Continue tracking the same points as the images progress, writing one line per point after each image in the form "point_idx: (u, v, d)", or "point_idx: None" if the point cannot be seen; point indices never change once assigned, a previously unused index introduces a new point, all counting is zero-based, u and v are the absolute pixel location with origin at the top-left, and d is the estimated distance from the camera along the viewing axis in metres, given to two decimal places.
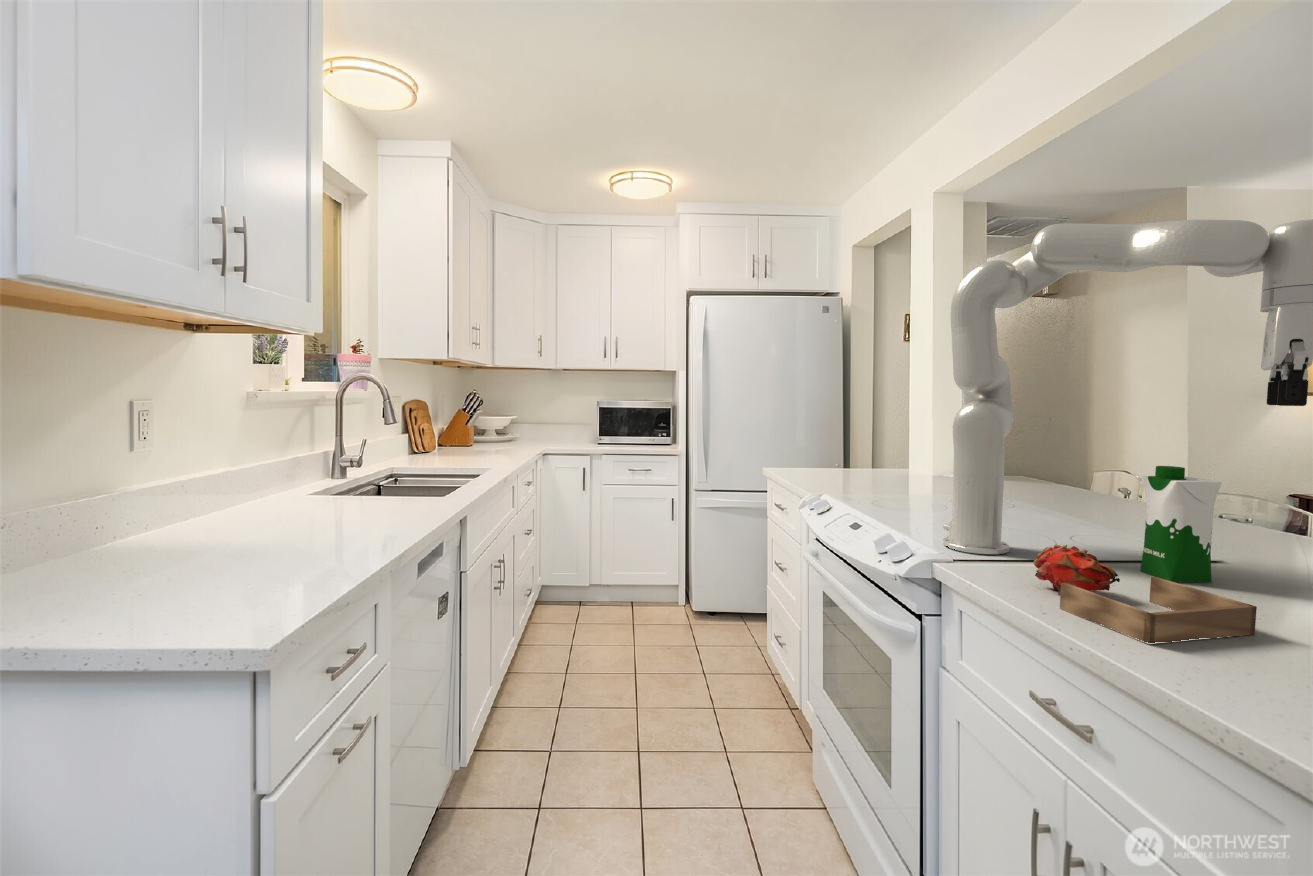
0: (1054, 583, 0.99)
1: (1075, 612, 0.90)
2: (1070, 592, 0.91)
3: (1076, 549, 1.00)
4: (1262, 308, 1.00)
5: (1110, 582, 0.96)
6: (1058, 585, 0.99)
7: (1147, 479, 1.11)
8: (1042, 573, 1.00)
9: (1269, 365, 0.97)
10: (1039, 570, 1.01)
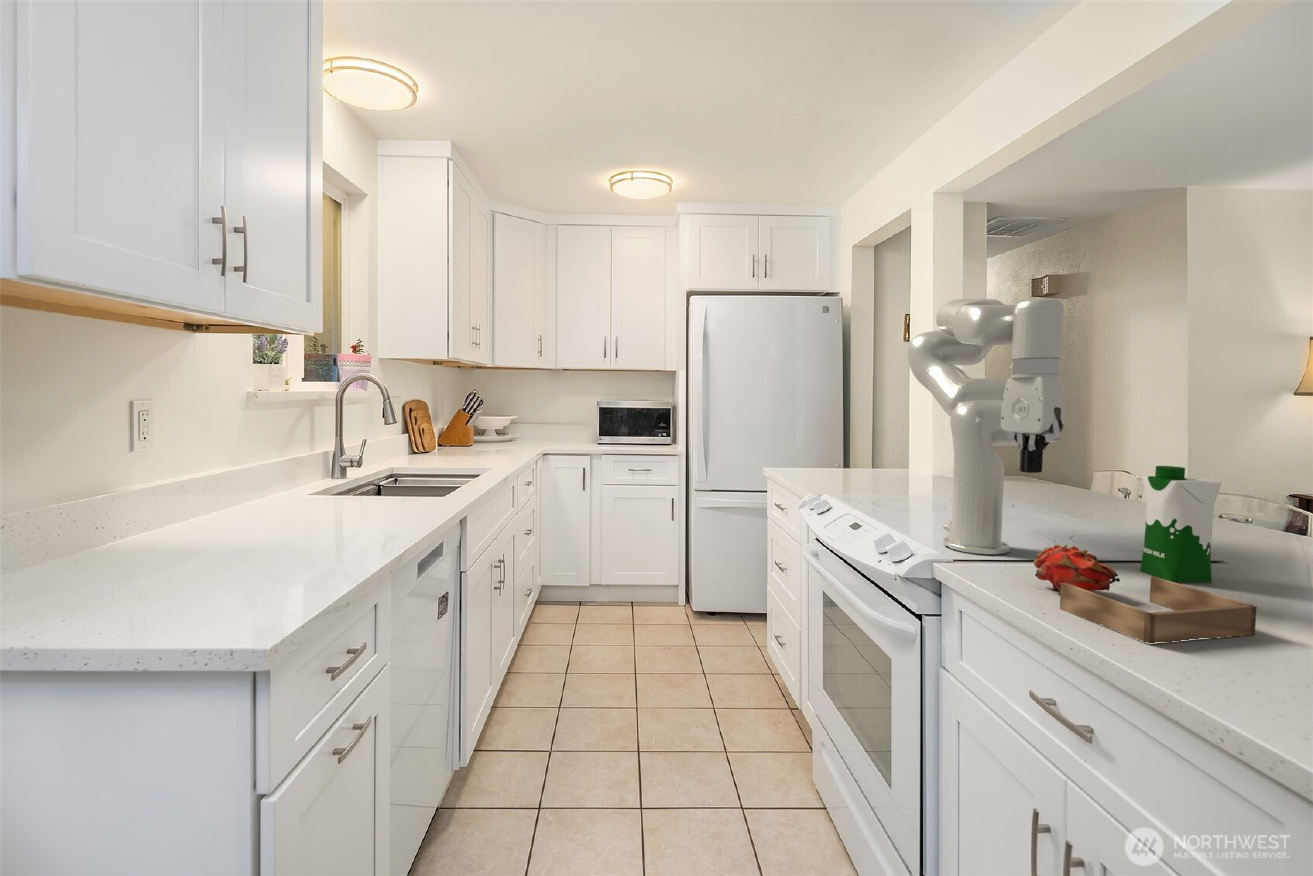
0: (1054, 583, 0.99)
1: (1075, 612, 0.90)
2: (1070, 592, 0.91)
3: (1076, 549, 1.00)
4: (1021, 375, 1.06)
5: (1110, 582, 0.96)
6: (1058, 585, 0.99)
7: (1147, 479, 1.11)
8: (1042, 573, 1.00)
9: (1037, 430, 1.04)
10: (1039, 570, 1.01)
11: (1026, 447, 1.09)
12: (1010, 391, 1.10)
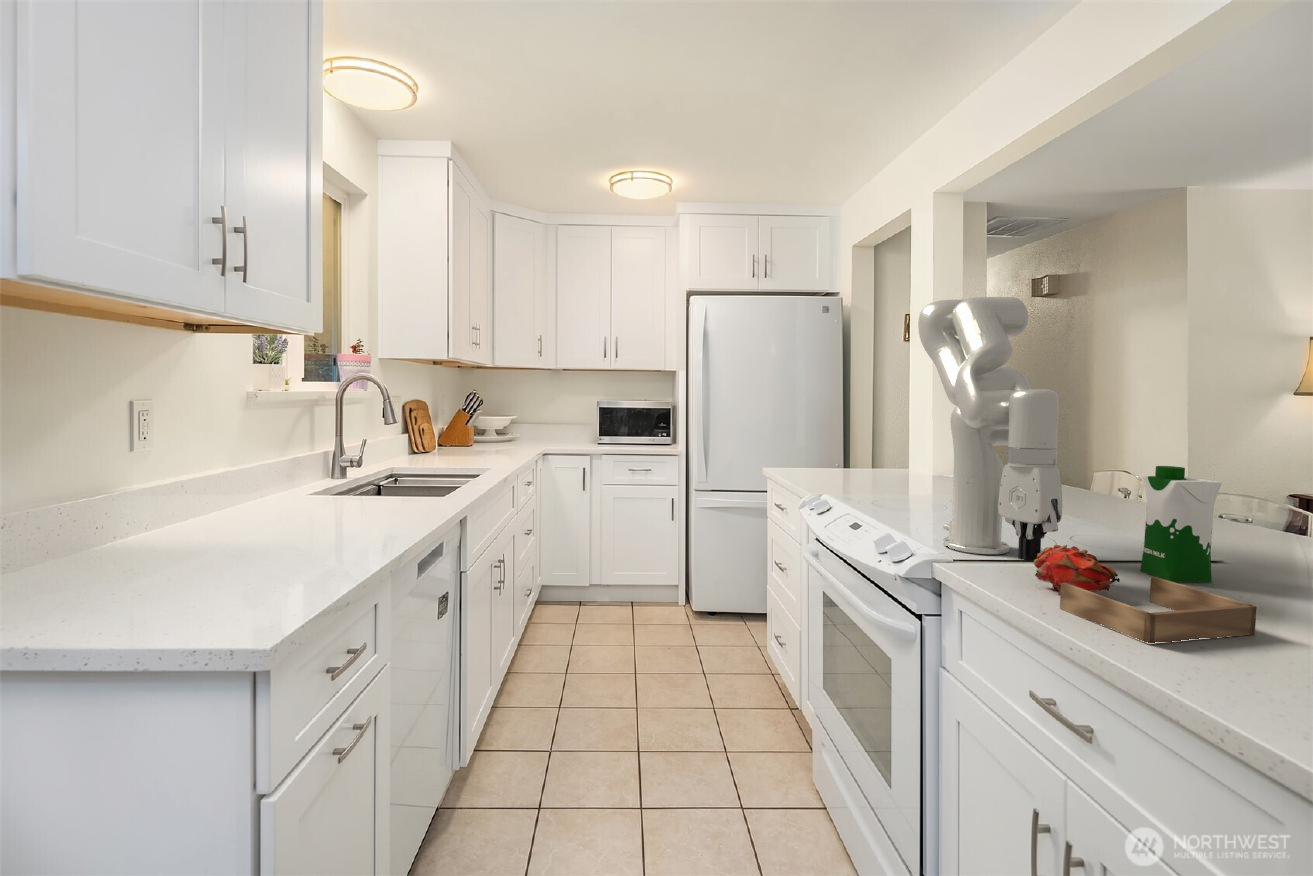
0: (1054, 583, 0.99)
1: (1075, 612, 0.90)
2: (1070, 592, 0.91)
3: (1076, 549, 1.00)
4: (1018, 465, 1.07)
5: (1110, 582, 0.96)
6: (1058, 585, 0.99)
7: (1147, 479, 1.11)
8: (1042, 573, 1.00)
9: (1035, 521, 1.04)
10: (1039, 570, 1.01)
11: (1024, 535, 1.09)
12: (1007, 478, 1.10)
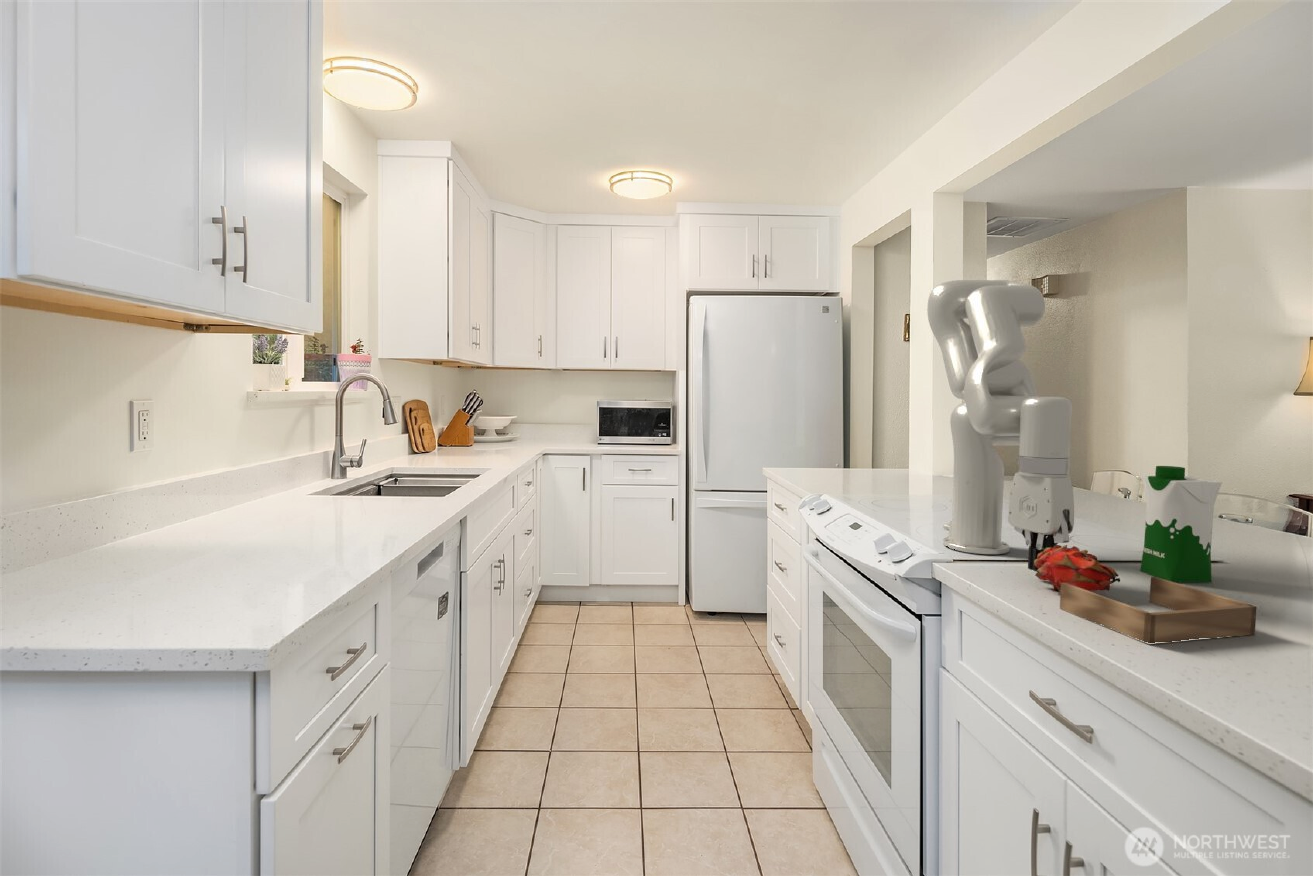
0: (1054, 583, 0.99)
1: (1075, 612, 0.90)
2: (1070, 592, 0.91)
3: (1076, 549, 1.00)
4: (1029, 474, 1.04)
5: (1110, 582, 0.95)
6: (1058, 585, 0.99)
7: (1147, 479, 1.10)
8: (1042, 573, 1.00)
9: (1046, 532, 1.02)
10: (1039, 570, 1.01)
11: (1034, 544, 1.07)
12: (1018, 487, 1.08)
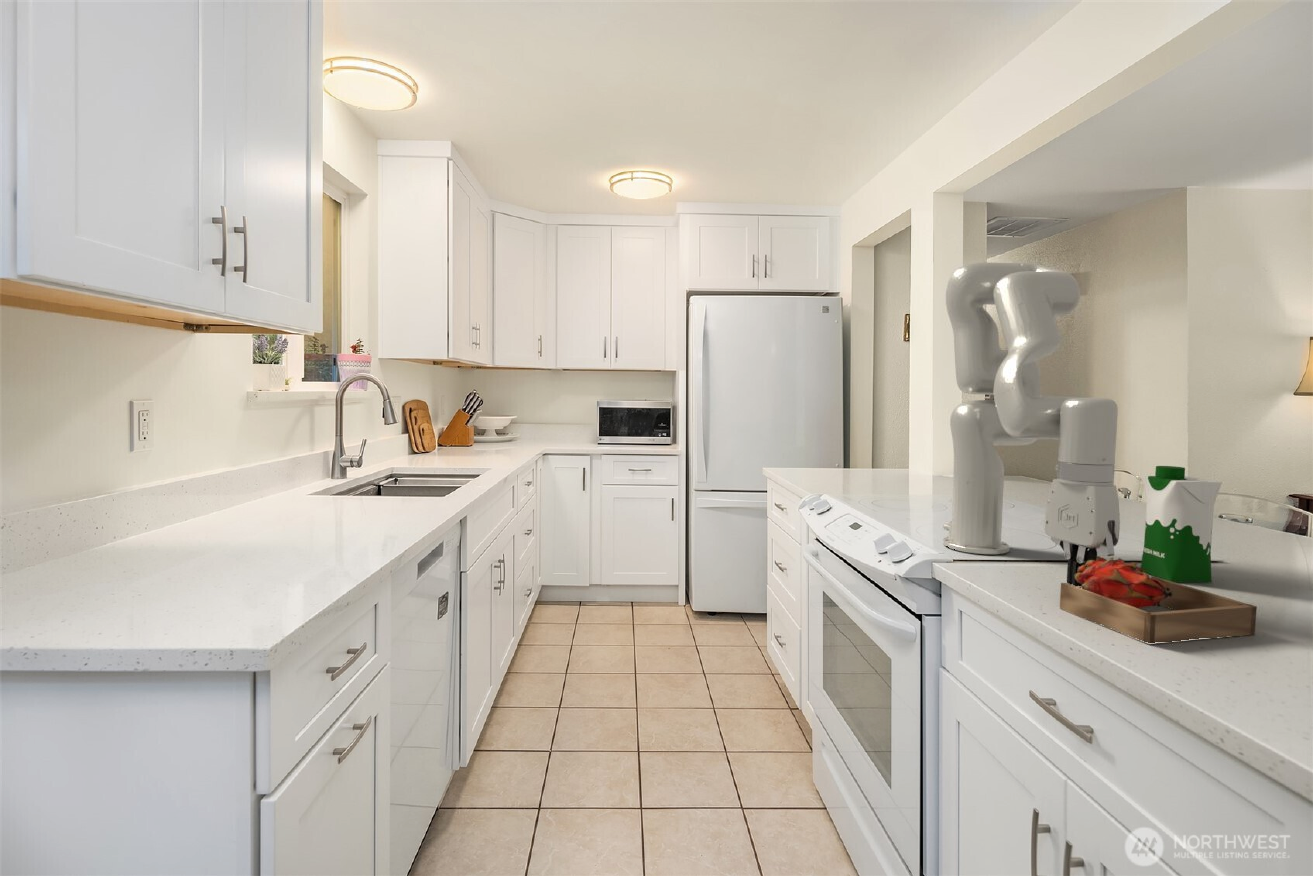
0: None
1: (1075, 612, 0.90)
2: (1070, 592, 0.91)
3: (1122, 561, 0.92)
4: (1070, 481, 0.96)
5: (1163, 597, 0.88)
6: None
7: (1147, 479, 1.11)
8: (1089, 589, 0.92)
9: (1089, 545, 0.94)
10: (1085, 586, 0.93)
11: (1074, 557, 0.99)
12: (1056, 495, 1.00)
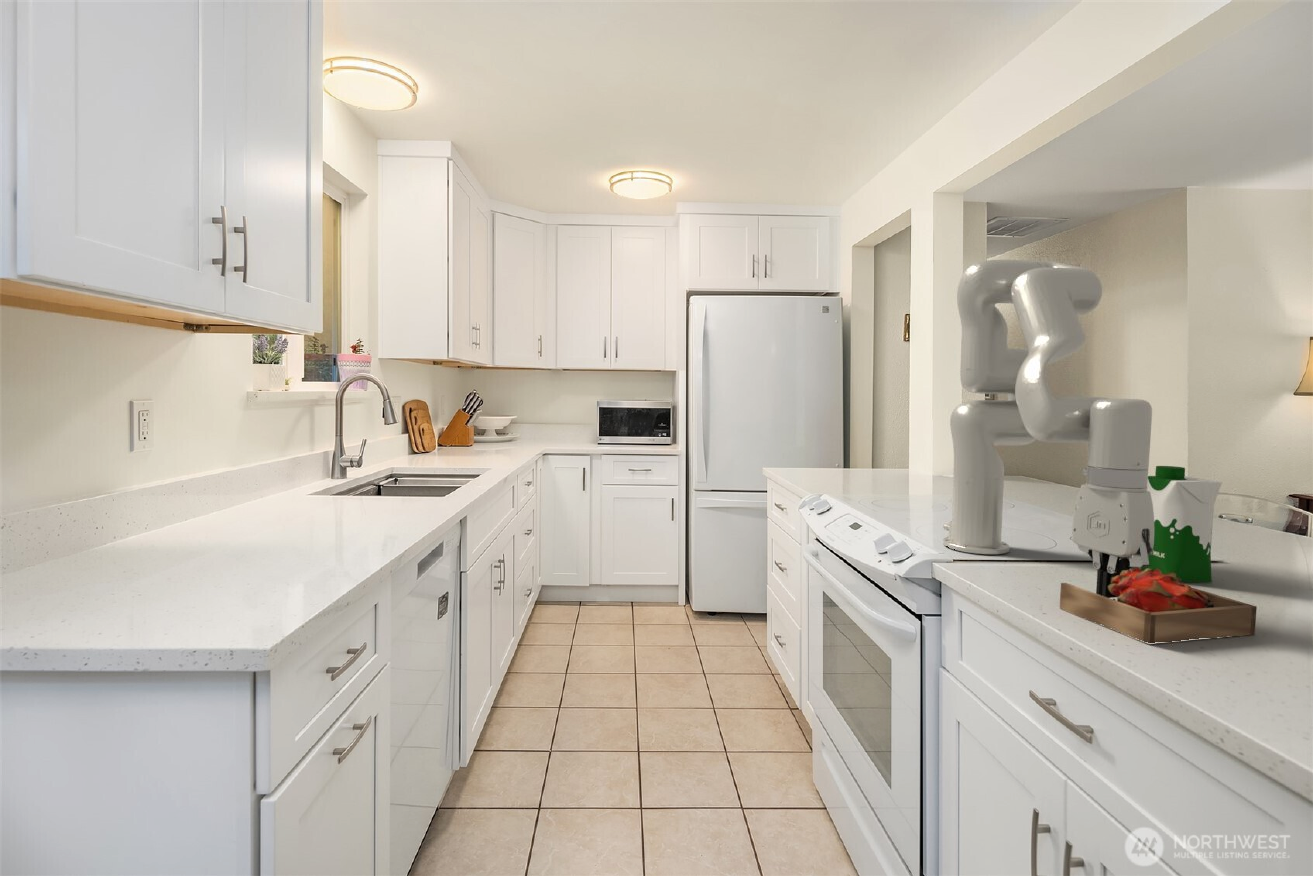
0: None
1: (1075, 612, 0.90)
2: (1070, 592, 0.91)
3: (1159, 572, 0.87)
4: (1101, 487, 0.91)
5: None
6: None
7: None
8: (1126, 601, 0.86)
9: (1122, 554, 0.89)
10: (1121, 598, 0.87)
11: (1104, 567, 0.94)
12: (1085, 501, 0.95)
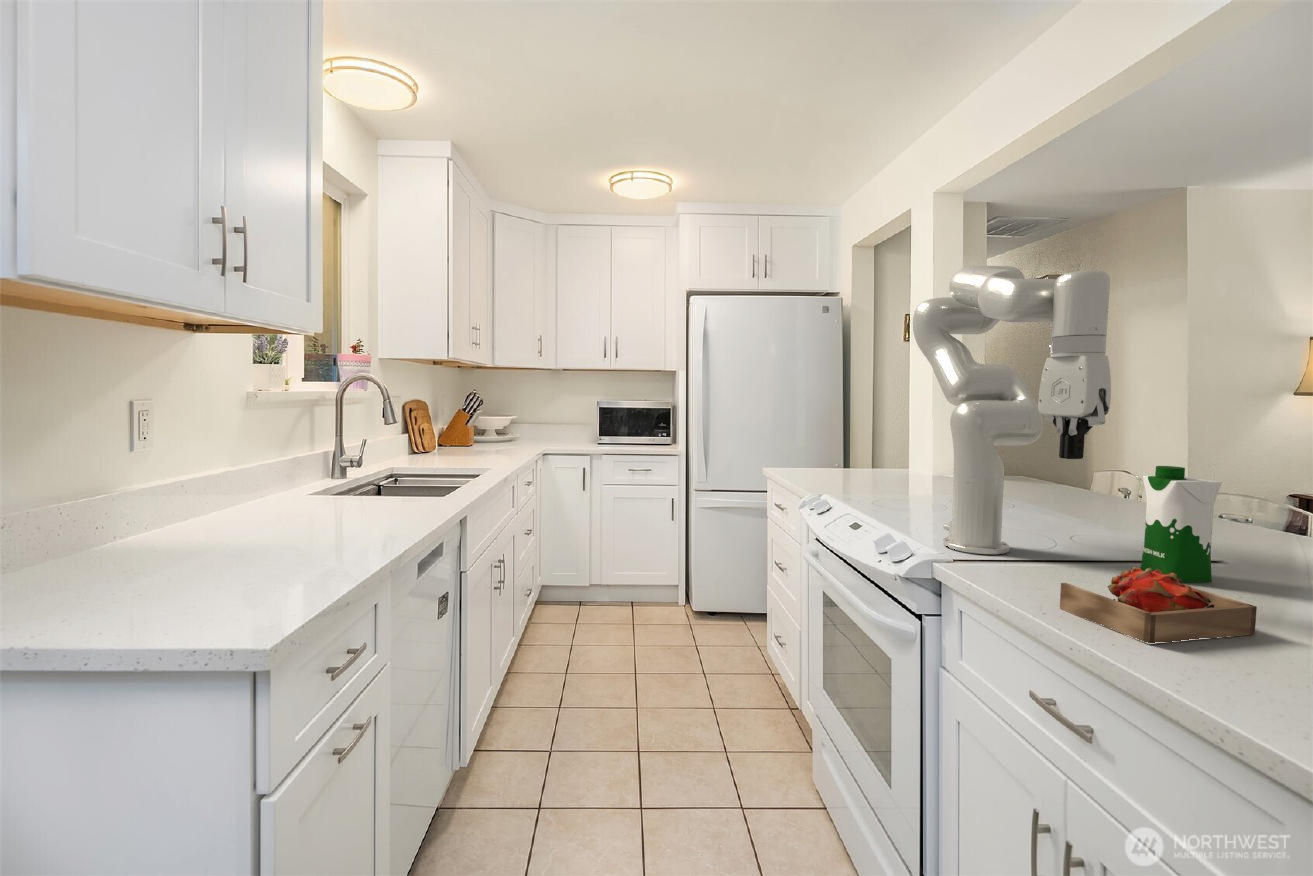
0: None
1: (1075, 612, 0.90)
2: (1070, 592, 0.91)
3: (1159, 572, 0.87)
4: (1062, 354, 0.98)
5: None
6: None
7: (1147, 479, 1.11)
8: (1126, 602, 0.86)
9: (1080, 413, 0.96)
10: (1122, 598, 0.87)
11: (1066, 432, 1.01)
12: (1049, 371, 1.02)
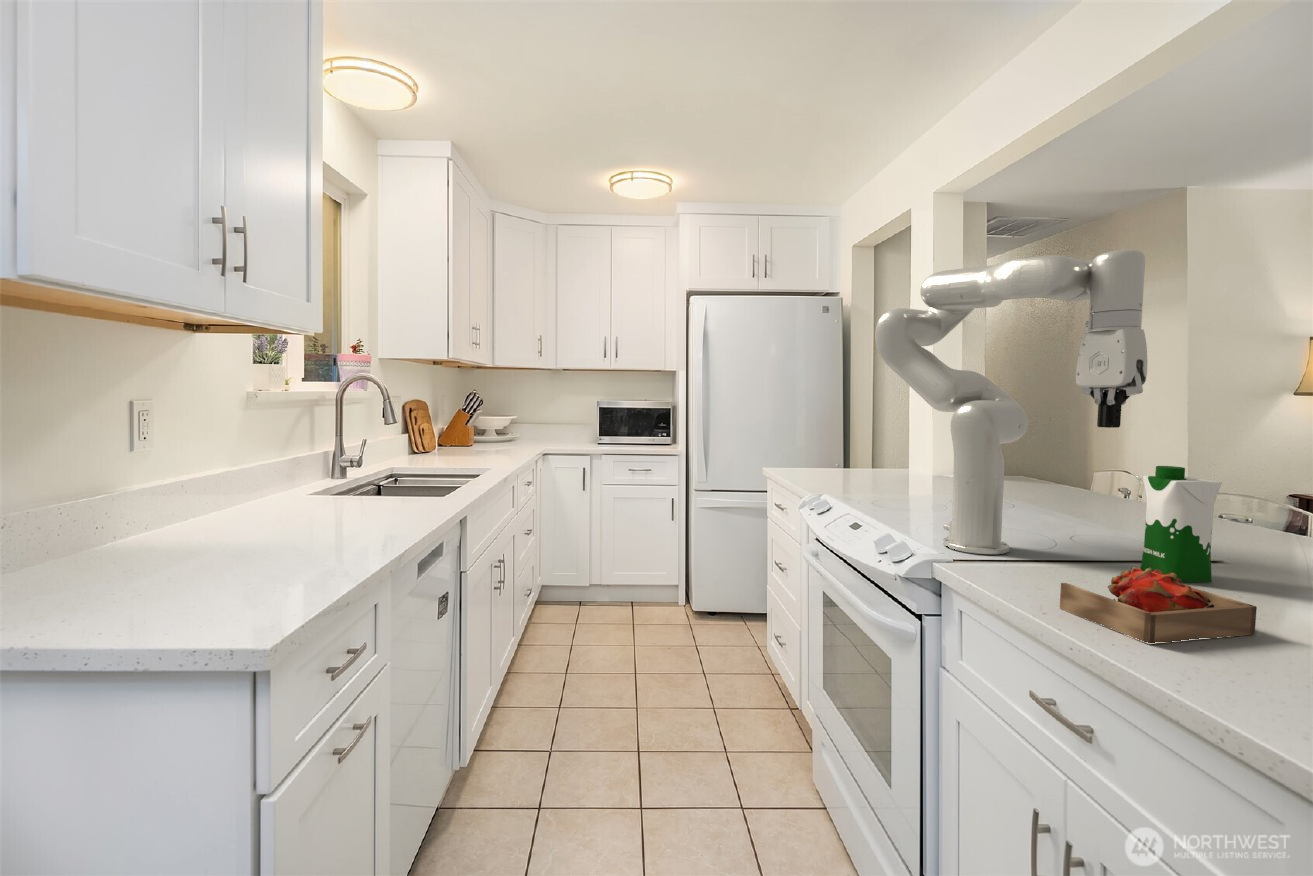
0: None
1: (1075, 612, 0.90)
2: (1070, 592, 0.91)
3: (1159, 572, 0.87)
4: (1101, 328, 1.05)
5: None
6: None
7: (1147, 479, 1.11)
8: (1126, 602, 0.86)
9: (1119, 383, 1.03)
10: (1121, 598, 0.87)
11: (1104, 402, 1.08)
12: (1087, 346, 1.09)
